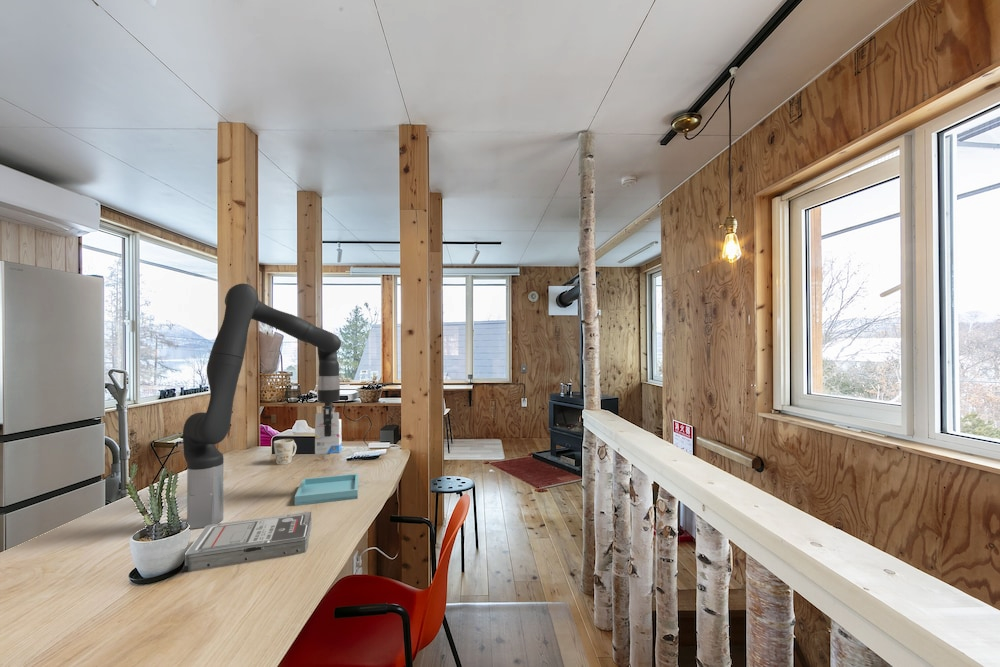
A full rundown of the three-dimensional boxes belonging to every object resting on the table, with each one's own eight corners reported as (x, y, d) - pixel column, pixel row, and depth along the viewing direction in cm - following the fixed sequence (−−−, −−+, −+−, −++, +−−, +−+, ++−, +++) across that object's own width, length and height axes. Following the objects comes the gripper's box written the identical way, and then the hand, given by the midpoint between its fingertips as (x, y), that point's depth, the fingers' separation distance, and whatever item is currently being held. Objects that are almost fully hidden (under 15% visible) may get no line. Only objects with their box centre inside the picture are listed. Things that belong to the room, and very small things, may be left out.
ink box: (341, 450, 161) (342, 410, 162) (339, 453, 156) (339, 412, 157) (317, 451, 160) (318, 411, 160) (314, 454, 155) (314, 413, 155)
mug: (269, 465, 194) (269, 442, 195) (287, 457, 207) (287, 436, 207) (286, 465, 193) (286, 443, 193) (303, 458, 205) (303, 437, 206)
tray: (357, 498, 151) (357, 489, 151) (294, 505, 145) (294, 496, 145) (358, 481, 170) (358, 473, 170) (302, 486, 164) (302, 478, 164)
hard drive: (206, 541, 121) (206, 525, 121) (311, 526, 130) (311, 511, 130) (182, 574, 103) (183, 555, 103) (306, 554, 112) (306, 537, 112)
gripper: (338, 389, 153) (338, 437, 153) (340, 386, 167) (340, 430, 166) (315, 390, 151) (315, 439, 150) (319, 386, 165) (319, 431, 164)
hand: (328, 434), depth 158 cm, fingers closed on ink box, 5 cm apart
